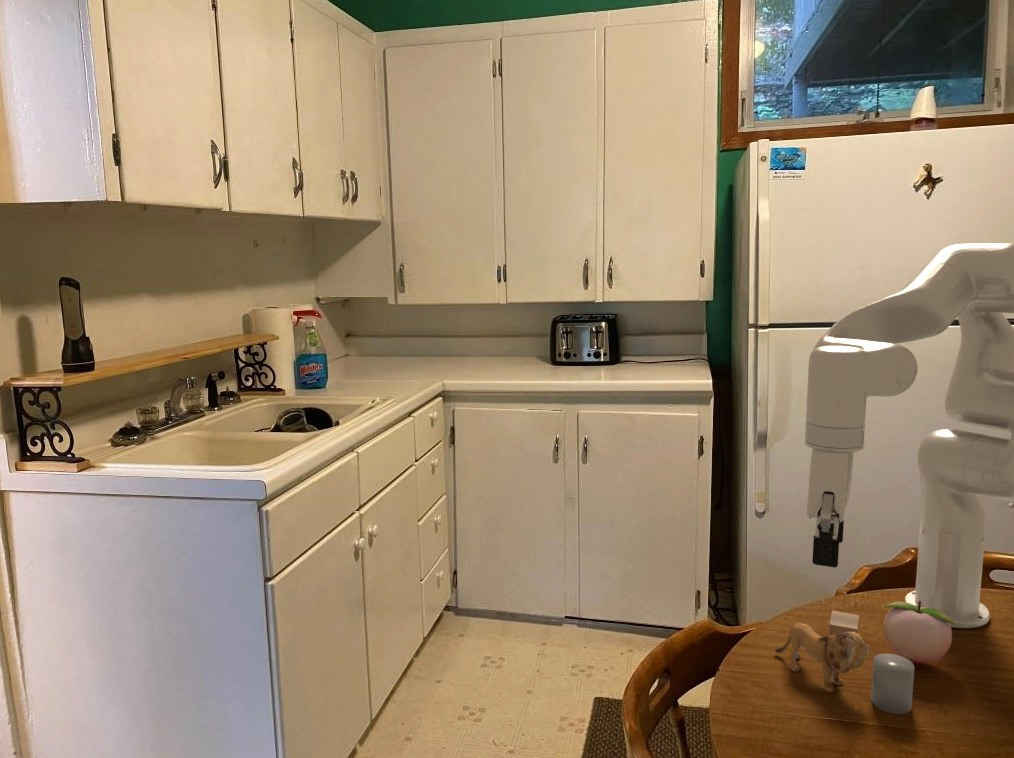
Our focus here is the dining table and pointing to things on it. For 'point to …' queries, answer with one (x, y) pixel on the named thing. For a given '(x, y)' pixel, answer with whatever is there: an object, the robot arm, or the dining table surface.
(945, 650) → the decorative fruit
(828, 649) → the lion figurine
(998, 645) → the dining table surface
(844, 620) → the pale beige block
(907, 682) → the light grey cylinder
